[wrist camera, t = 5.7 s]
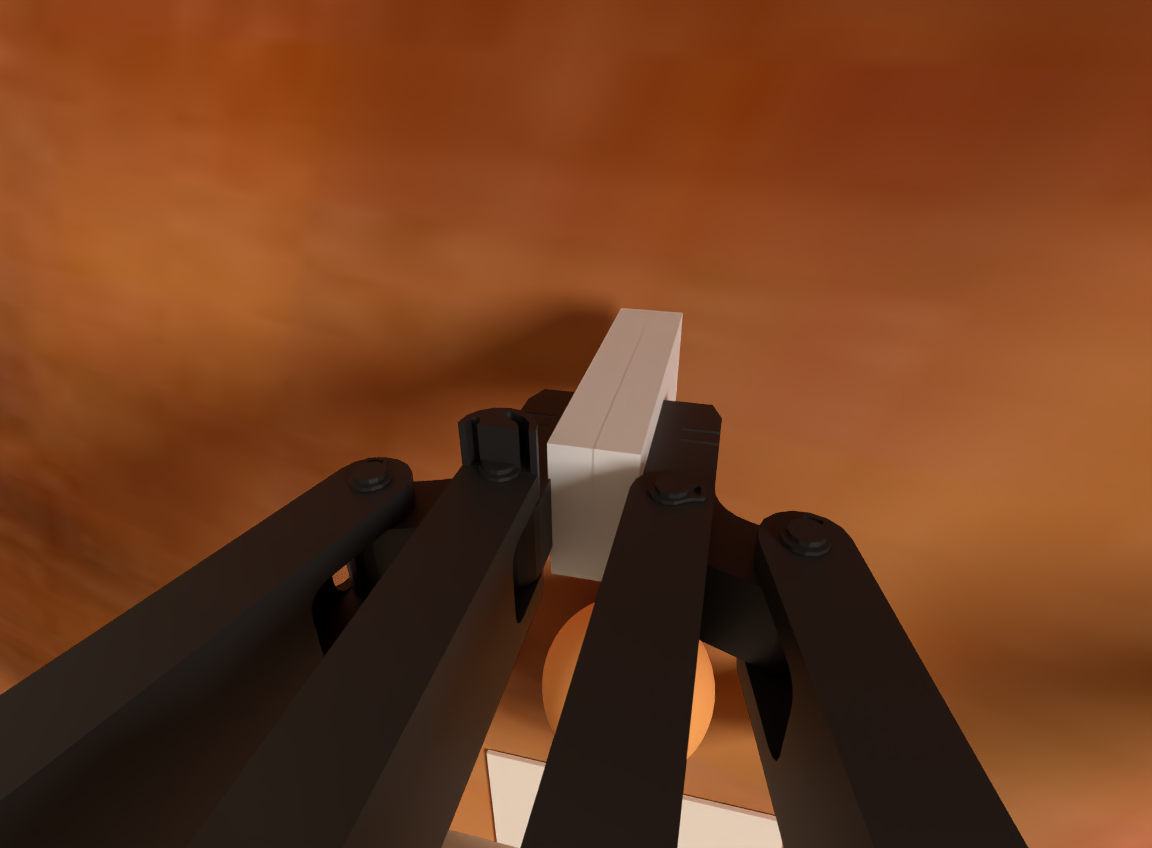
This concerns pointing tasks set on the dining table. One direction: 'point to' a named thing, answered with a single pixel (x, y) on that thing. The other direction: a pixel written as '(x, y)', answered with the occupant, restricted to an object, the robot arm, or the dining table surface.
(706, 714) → the ball
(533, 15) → the dining table surface
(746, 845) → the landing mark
